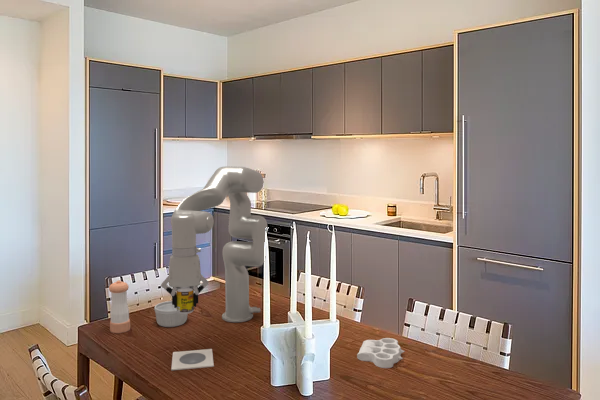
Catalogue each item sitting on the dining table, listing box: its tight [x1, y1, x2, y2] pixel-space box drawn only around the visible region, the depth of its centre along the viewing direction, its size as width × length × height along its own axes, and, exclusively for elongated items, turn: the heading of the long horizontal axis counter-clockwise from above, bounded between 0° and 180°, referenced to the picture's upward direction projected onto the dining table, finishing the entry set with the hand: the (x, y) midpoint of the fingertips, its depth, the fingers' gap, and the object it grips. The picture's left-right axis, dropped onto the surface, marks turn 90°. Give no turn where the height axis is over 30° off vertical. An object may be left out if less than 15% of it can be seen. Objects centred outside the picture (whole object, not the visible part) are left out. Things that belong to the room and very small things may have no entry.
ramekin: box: [154, 300, 189, 328], centre depth 191 cm, size 13×13×7 cm
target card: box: [170, 348, 215, 371], centre depth 157 cm, size 13×13×1 cm
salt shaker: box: [108, 280, 131, 334], centre depth 182 cm, size 7×7×19 cm
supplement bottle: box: [176, 287, 195, 314], centre depth 157 cm, size 6×6×10 cm
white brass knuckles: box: [356, 337, 406, 369], centre depth 160 cm, size 3×18×15 cm
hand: (185, 305), depth 157 cm, fingers closed on supplement bottle, 5 cm apart
